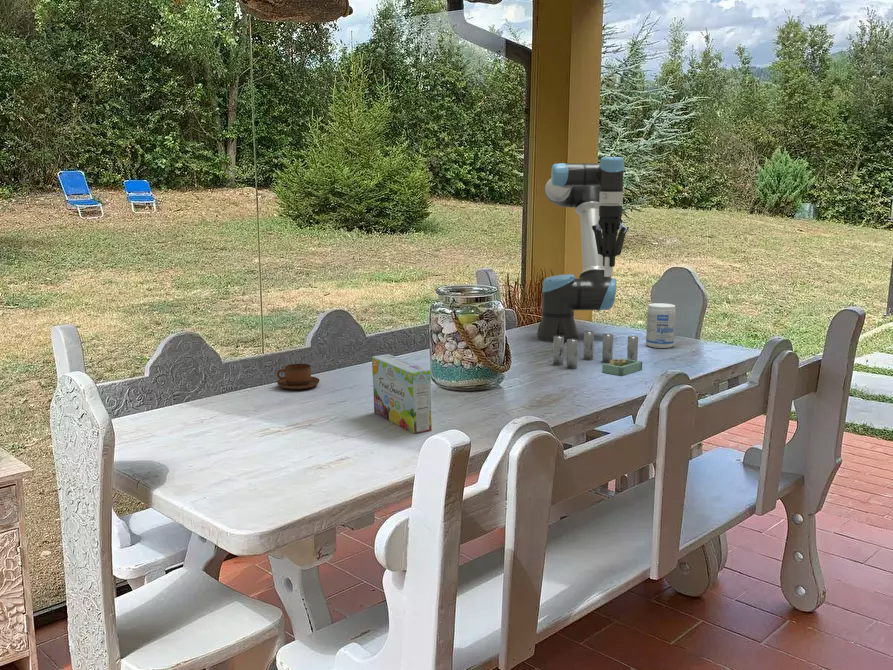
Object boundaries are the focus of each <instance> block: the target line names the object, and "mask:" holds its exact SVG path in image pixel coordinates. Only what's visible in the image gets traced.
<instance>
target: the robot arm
mask: <svg viewBox="0 0 893 670" xmlns="http://www.w3.org/2000/svg"><path fill="white" fill-rule="evenodd" d="M624 162H625V161H624V158H623V157H622V156H603V157H601V158H600V162H599V163H598V162H597V163H595V162H592V163H591V162H587V163H573V162H572V163H570V162H568V163H565V162H561V163H560V162H559V163H554V164H553V165H552V166H551V175H550V177H551V178H550V179H548V180H547V181H546V183H545V185H544V195H545V197H546V199H547V200H548V201H549V202H551V203H552V204H553V205H555V206H558V207H562V208H575V209H574V210H575V213H576V215H578V216H579V224H580V239H581V240H580V242H581V257H582V259H581V261H582V272H580V273H579V275H578V276H579V277H578V278H576V275H574V274H572V273H571V274H570V273H569V274H568V273H566V274H564V273H563V274H558V275H557V274H556V275H552V276H548V277H545V279H543V282H542V290H541V291H542V292H541V293H542V305H541V307H542V308H541V309H542V310H541V312H542V313H541V320H540V323H539V326H538V329H537V331H536V339H538V340H541V341H543V342H545V341H546V342H553V343H554V336H564V343H567V339H578V340H579V331H578V328H577V323H576V320H575V311H607V310H608V311H609V310H611V309H612V308H613V306H614V304H615V300H616V293H617V278H614V277H613V276H614V275H613V274H614V273H613V271H614V267H615V265H616V257H617V256H620V255H621V254H622V250H623V247H624V241H625V238H626V234H627V233H628V230H629V227H628V226H625V225H624V224H623V220H622V216H623V206H622V204H623V203H624V196H623V195H624V191H623V190H624V170H625V163H624Z"/></svg>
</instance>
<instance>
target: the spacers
mask: <svg viewBox="0 0 893 670" xmlns="http://www.w3.org/2000/svg"><path fill="white" fill-rule="evenodd" d="M594 337H595V331H591V330H585V331H584V332H583V360H585V361H593V360H594V346H595V345H594V343H595V342H594V341H595V338H594ZM578 340H579V338H578V339H567V341H566V368H567V369H572V370H575V369H577V368H578V343H579V342H578ZM564 343H565V342H564V336H554V342H553V348H552V349H553V350H552V351H553V355H552V356H553V357H552V358H553V359H552V363H553V366H564V352H565V351H564V345H565V344H564ZM613 347H614V334H613V333H603V334H602V356H601V360H602V361H601V362H602V364H610V360H613V352H614V351H613V350H614V349H613ZM638 347H639V336H636V335H629V336H627V352H626V359H629V360H635V361H638V355H639V354H638V353H639V351H638V350H639V348H638Z"/></svg>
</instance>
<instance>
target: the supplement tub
mask: <svg viewBox="0 0 893 670" xmlns="http://www.w3.org/2000/svg"><path fill="white" fill-rule="evenodd" d="M647 306H648V307H647V317H646V334H645V335H646V336H645V344H646V346H648V347H650V348H656V349H670V348H672V347H674V343H675V331H676V329H675V328H676V309H677V308H676V305H675V304H672V303H660V302H659V303H658V302H657V303H654V302H653V303H649V304H648V305H647Z"/></svg>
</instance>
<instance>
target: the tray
mask: <svg viewBox="0 0 893 670" xmlns="http://www.w3.org/2000/svg"><path fill="white" fill-rule="evenodd" d="M622 359H623V360H625V361H627V365H624V366H615V365H610V363H602V364H601V365H602V369H601V370H602V371H601V372H602V373H605V374H611V375H615V376H621V377H623V376H626V375H630V374H633V373H635V372H639V371H642V370H643V361H640V360H637V361H635V360H629V359H627V358H622Z"/></svg>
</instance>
